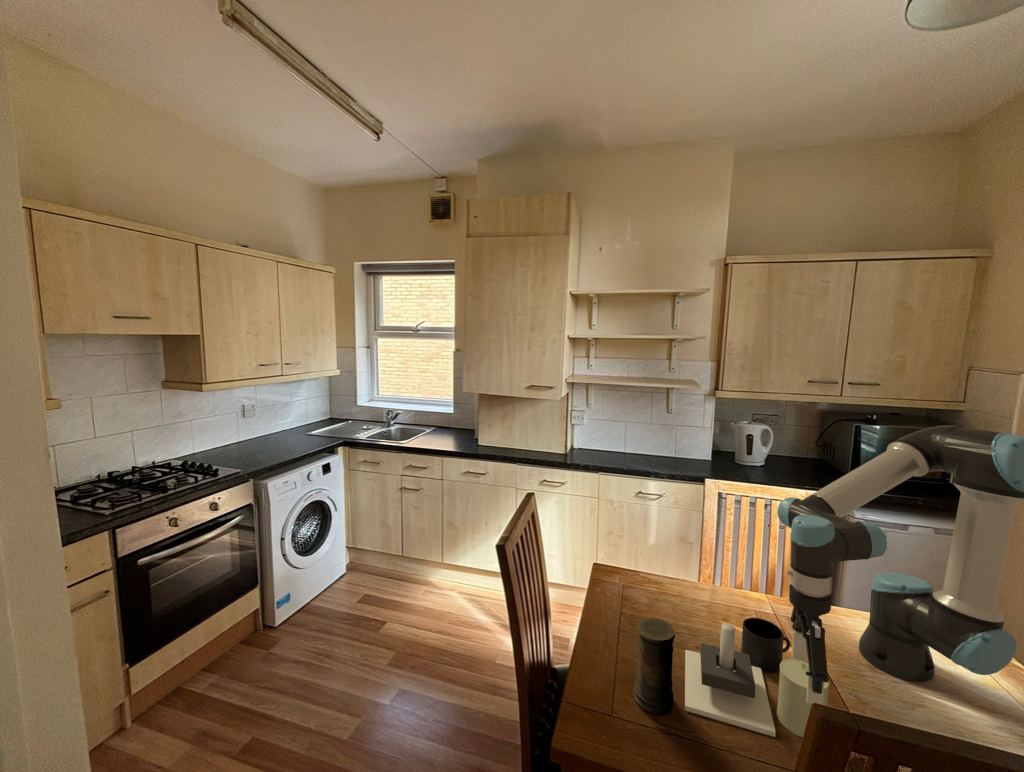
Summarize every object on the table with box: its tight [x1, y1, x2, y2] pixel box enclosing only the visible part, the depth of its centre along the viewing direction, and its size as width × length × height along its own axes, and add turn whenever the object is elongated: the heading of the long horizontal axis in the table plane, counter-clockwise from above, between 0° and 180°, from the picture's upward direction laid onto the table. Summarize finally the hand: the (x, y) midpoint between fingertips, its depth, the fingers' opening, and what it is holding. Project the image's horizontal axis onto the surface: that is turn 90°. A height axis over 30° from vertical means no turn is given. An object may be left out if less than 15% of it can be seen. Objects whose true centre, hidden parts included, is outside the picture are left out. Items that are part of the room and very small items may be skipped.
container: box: [633, 616, 676, 716], centre depth 102 cm, size 9×9×18 cm
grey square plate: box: [699, 642, 755, 699], centre depth 105 cm, size 11×11×3 cm
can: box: [775, 658, 830, 739], centre depth 96 cm, size 9×9×12 cm
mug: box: [740, 617, 791, 674], centre depth 115 cm, size 9×12×9 cm
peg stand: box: [684, 623, 776, 738], centre depth 105 cm, size 18×20×16 cm
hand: (806, 679), depth 96 cm, fingers open, 13 cm apart
